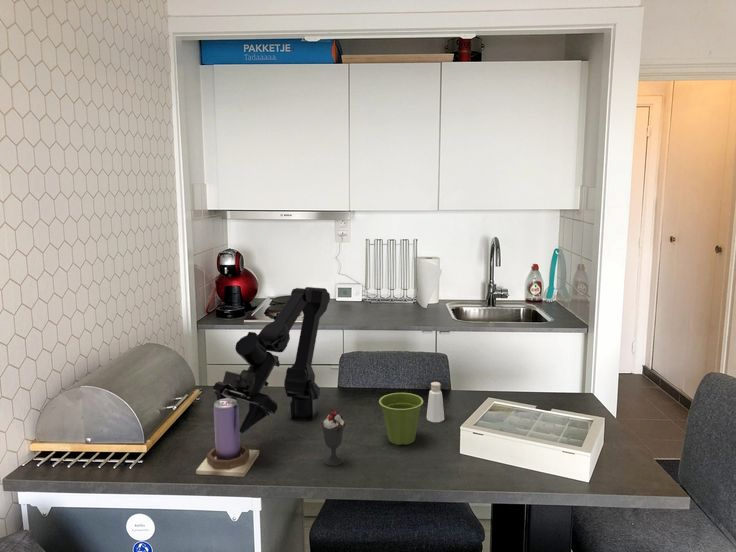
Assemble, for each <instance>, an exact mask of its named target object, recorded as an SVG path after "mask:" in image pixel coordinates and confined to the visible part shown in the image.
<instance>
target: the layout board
mask: <svg viewBox="0 0 736 552" xmlns="http://www.w3.org/2000/svg"><path fill="white" fill-rule="evenodd" d="M240 451H241V456H240V457H238V458H235V459H231V460H217V459H216V446H214V447H212V448H211V450H210V451H209V452H208V453H207V454H206V458H205V459H204V460H203V461H202V463H201V464H200V465H199V466H198V467H197V468H196V470H195V474H196V475H203V476H204V475H206V476H224V477H243V478H244V477H245V476H246V474H248V472H249V470H250V469H251V467H252V465H253V464H254V462H255V461H256V459H257V458H258V456H259V455H260V450H259V449H249V448H248V447H246V446H245V445H244V444H241V443H240Z"/></svg>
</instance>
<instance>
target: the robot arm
mask: <svg viewBox="0 0 736 552" xmlns="http://www.w3.org/2000/svg"><path fill="white" fill-rule="evenodd" d="M330 301H331V295H330V292H329V291H328V290H327V289H326V288H324V287H313V286H306V287H304V288H301V287H296V288H293V289H292V290H291V292H290V297H289V298H288V300H287V301H286V302H285V304H284V305H283V307H282V308H281V310H280V311H279V313H278V315H277V316H276V318H275V319H274V320H273V321H272V322H270V323H268V324H266V325H265V326H264V327H263V328H262V329H261V330H260V331H259V333H258V334H257V332H256V331H248V332H247V335H245V336H242V337H240V339H239V340H238V341H237V342H236V343H235V351H236V354H238V355H239V356H240V357H241V359H243V360H244V361H245V362H246V363H247V364H248V365H249V366H248V368H247V369H243V370H241V372H240V373H237V372H233V371H227V370H225V372H224V375H223V379H222V381H217V382H215V384H214V385H213V387H212V389H211V390H212V391H213V392H214V393H213V394H214V396H216V399H217V400H216V401H218V400H221V399H227V398H230V399H235V400H241V401H243V402H247V403H249V405H248V407H249V408H248V409H249V410H248V412H247V414H246V416H245V418H244V420H243V422H242V423H241V426H240V427H239V430H240V434H243V433H245V432H246V431H248V430H249V429H250V428H251V427H253V426H254V425H255V424H257V423H258V422H260V421H262V420H263V419H264V418H265V417H270V414H271V415H275V413H276V412H277V410H278V401H277V402H276V400H274V399H273V398H272V397H271V396H269V394H266V393H261V392H262V389H263V388H264V387H268V386H269V382H268V381H267V380H268V379H269V377H270V375H271V373H272V371H273V369H274V367H278V368H279V367H280V360H279V356H277V355H276V354H275V355H274V354H273V353H283V352H284V351H285V350H286V348H287V347H288V344H289V341H290V339H291V338H290V337H291V336H290V332H291V330H292V327H293V326H294V324H295V323H296V321H297V320H298V318H299V316H300V315H301V313H302V314H303V317H302V322H301V328H300V333H299V338H298V339H299V340H298V344H297V349H296V355H295V361H294V363H293V365H292V366H291V367H290V366H289V367H287V368H286V372H285V378H284V382H283V384H284V385H283V386H284V389H285V393H286V397H287V398H291V401H290V402H289V405H290V409H289V411H290V416H291V417H290V420H294V421H313V419H314V418H315V416H316V415H317V410H316V400H318V399H319V396H320V394H321V393H320V392H321V388H320V387H319V386H318V384H317V383H316V382H315V380H316V375H315V372H314V369H313V367H312V364H313V359H314V352H315V347H316V341H317V336H318V335H317V334H318V330H319V324H320V319H321V317H322V316H323V315H324V314H325V312H326V311H327V309H328V306H329V303H330Z"/></svg>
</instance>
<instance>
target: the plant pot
mask: <svg viewBox="0 0 736 552" xmlns="http://www.w3.org/2000/svg"><path fill="white" fill-rule="evenodd" d="M378 403H379V405H380V407H381V409H382V410H381V411H382V413H383V417H384V422H385V428H386V433H387V438H388V441H389V442H390V443H392V444H393V445H397V446H400V445H405V446H406V445H410V444H412V443H414V442H415V440H416V436H417V430H418V423H419V422H418V421H419V415H420V411H421V407H422V405H423V404H424V400H423V398H422V397H421V396H419V395H418V394H413V393H409V392H394V393H389V394H386V395H383V396H381V397H380V398H379V400H378Z"/></svg>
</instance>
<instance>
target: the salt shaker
mask: <svg viewBox="0 0 736 552" xmlns="http://www.w3.org/2000/svg"><path fill="white" fill-rule="evenodd" d="M430 388H431V389H430V390H429V391H428V392H429V393H428V400H427V401H428V402H427V411H426V420H427V421H428V422H431V423H441V422H444V420H445V413H444V399H443V392H442V390H441V383H440V382H438V381H433V382H431V383H430Z"/></svg>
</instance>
